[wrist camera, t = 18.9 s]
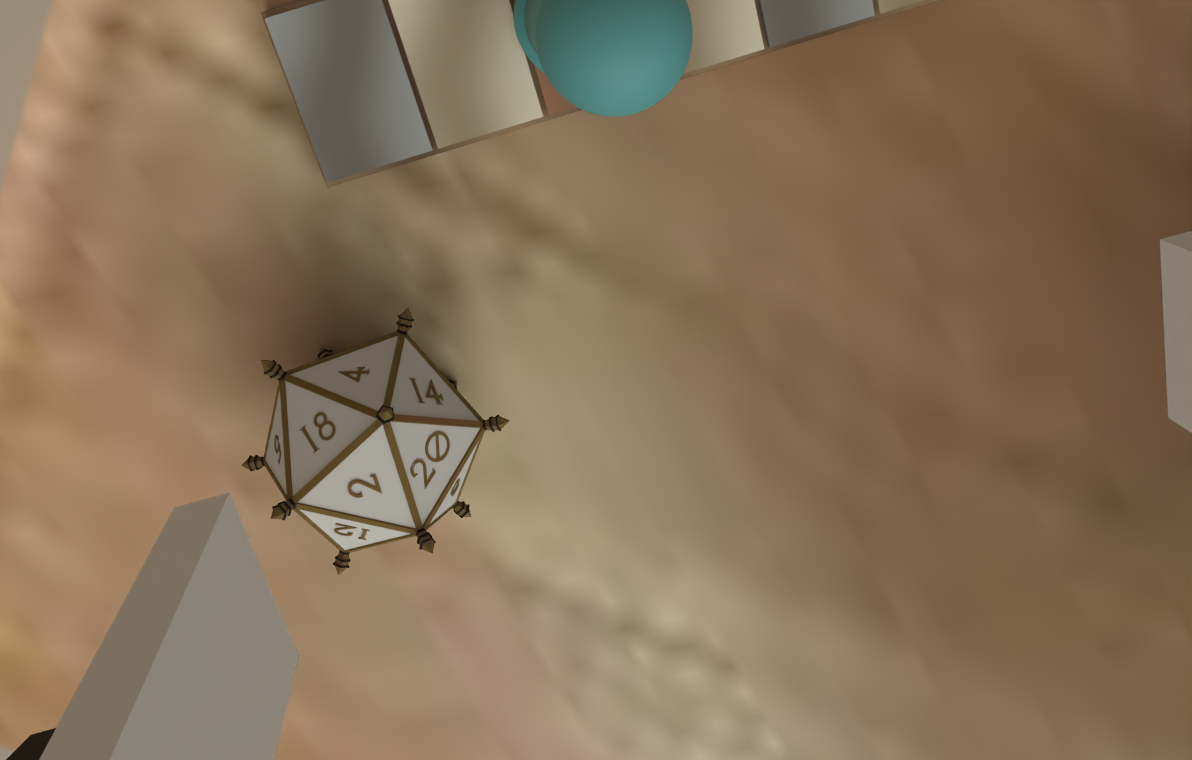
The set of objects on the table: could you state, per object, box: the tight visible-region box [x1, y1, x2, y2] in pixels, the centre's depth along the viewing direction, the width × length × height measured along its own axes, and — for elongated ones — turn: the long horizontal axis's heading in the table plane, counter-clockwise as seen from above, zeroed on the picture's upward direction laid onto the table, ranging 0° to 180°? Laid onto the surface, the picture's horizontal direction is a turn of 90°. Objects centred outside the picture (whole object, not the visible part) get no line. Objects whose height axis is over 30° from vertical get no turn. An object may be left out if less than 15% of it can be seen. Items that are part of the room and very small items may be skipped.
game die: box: [241, 307, 509, 575], centre depth 38 cm, size 9×8×10 cm
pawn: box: [513, 0, 693, 117], centre depth 31 cm, size 4×4×12 cm
